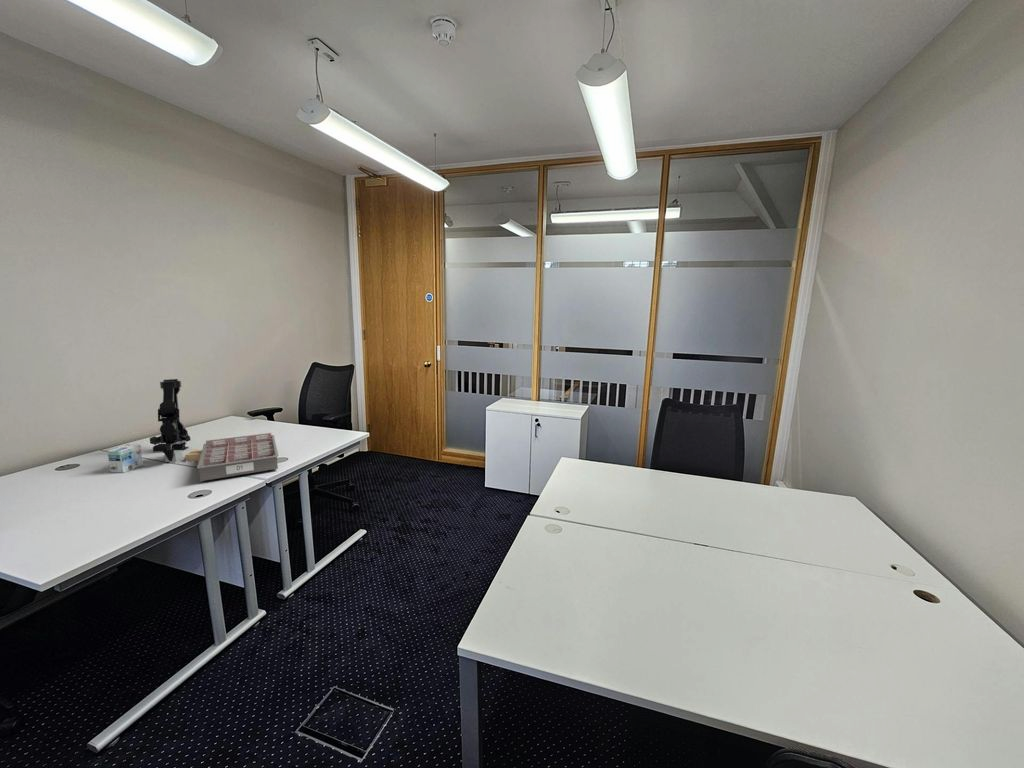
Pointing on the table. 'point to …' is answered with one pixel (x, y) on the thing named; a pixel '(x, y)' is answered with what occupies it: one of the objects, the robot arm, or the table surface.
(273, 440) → the organizer tray
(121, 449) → the light bulb box
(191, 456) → the oak block
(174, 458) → the stone cube
